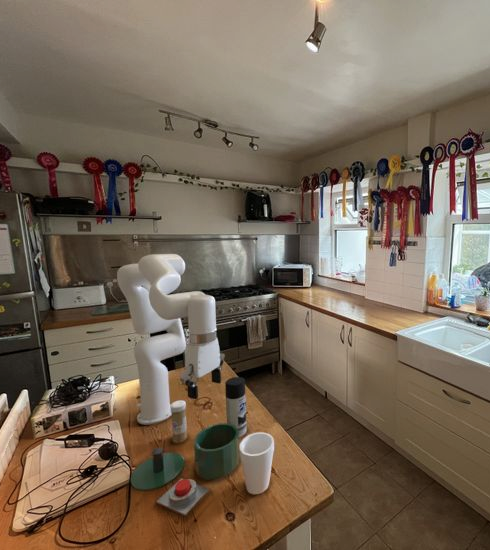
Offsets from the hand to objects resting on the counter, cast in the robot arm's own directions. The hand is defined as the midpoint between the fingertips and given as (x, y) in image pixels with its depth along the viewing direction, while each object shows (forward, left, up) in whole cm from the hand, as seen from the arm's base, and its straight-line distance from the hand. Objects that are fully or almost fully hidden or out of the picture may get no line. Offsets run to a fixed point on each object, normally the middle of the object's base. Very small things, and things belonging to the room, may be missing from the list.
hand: (205, 389), depth 89 cm
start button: (+5, -14, -21) cm, 25 cm away
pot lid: (-9, -10, -23) cm, 26 cm away
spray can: (+1, +13, -24) cm, 27 cm away
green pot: (+5, -1, -23) cm, 24 cm away
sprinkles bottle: (-15, +3, -24) cm, 28 cm away
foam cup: (+21, -3, -24) cm, 31 cm away
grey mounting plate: (+5, -14, -23) cm, 27 cm away
